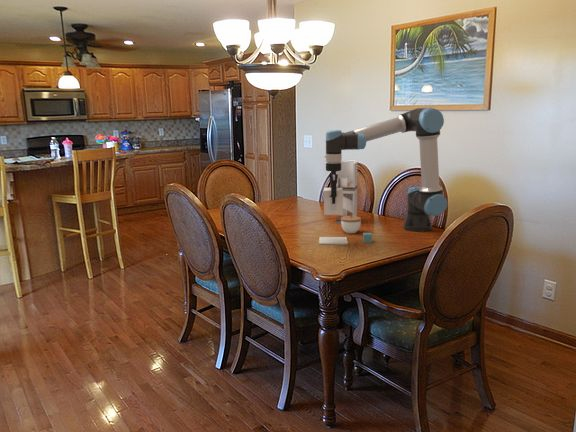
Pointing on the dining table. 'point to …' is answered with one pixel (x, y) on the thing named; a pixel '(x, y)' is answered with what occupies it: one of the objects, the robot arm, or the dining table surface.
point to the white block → (328, 202)
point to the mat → (333, 241)
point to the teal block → (367, 237)
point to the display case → (348, 187)
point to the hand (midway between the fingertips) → (333, 208)
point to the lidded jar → (350, 223)
